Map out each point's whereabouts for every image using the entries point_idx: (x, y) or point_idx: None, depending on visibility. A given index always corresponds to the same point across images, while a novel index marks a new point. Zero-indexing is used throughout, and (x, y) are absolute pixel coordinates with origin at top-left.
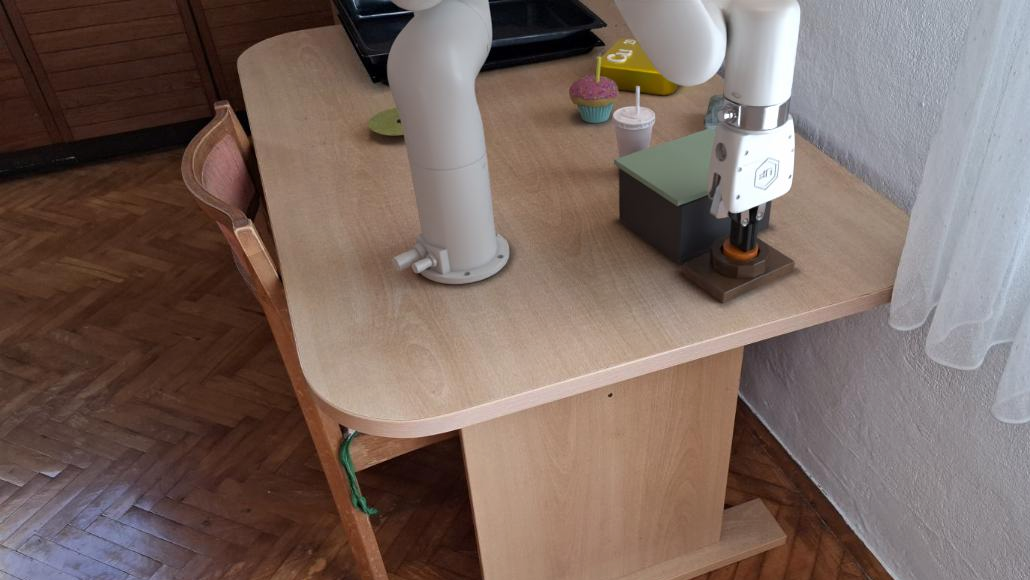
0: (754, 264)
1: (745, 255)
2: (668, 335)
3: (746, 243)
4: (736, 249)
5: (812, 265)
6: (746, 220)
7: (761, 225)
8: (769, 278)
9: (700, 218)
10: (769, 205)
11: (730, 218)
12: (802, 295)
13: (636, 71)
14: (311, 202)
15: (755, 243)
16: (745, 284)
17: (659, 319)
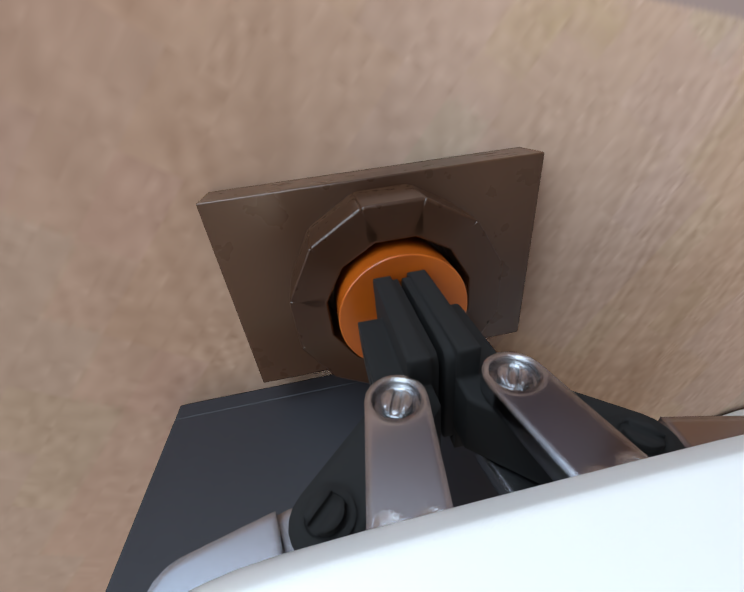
0: (421, 200)
1: (430, 256)
2: (735, 89)
3: (438, 291)
4: None
5: (113, 194)
6: (506, 380)
7: (205, 414)
8: (328, 178)
9: (474, 457)
10: (160, 474)
11: (334, 445)
12: (249, 29)
13: None
14: None
15: (383, 287)
16: (446, 166)
17: (684, 172)
